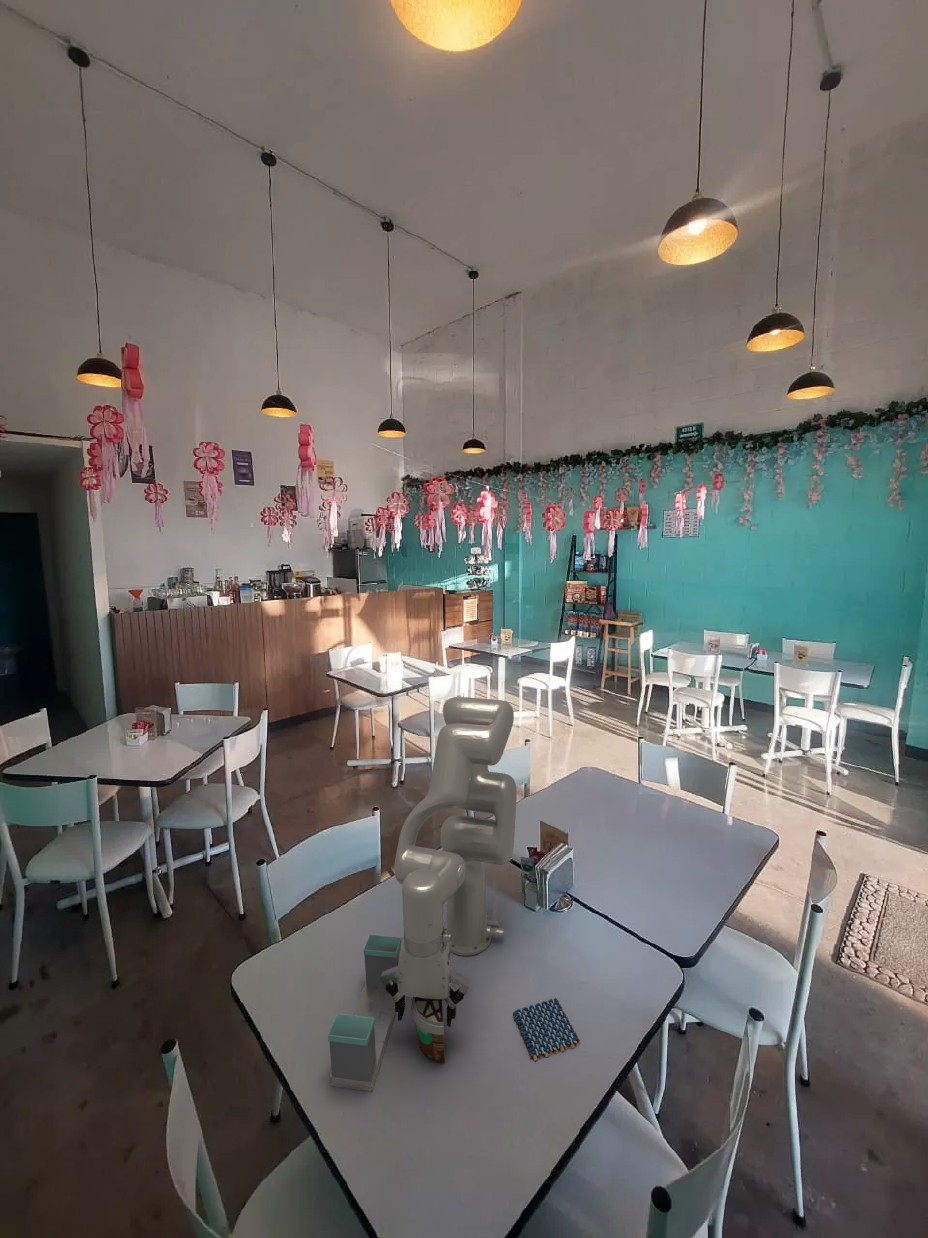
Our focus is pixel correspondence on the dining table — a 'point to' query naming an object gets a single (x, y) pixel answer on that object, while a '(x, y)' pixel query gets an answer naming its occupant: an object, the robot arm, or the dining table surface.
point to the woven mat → (545, 1028)
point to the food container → (429, 1027)
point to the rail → (383, 1011)
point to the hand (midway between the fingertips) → (425, 1017)
